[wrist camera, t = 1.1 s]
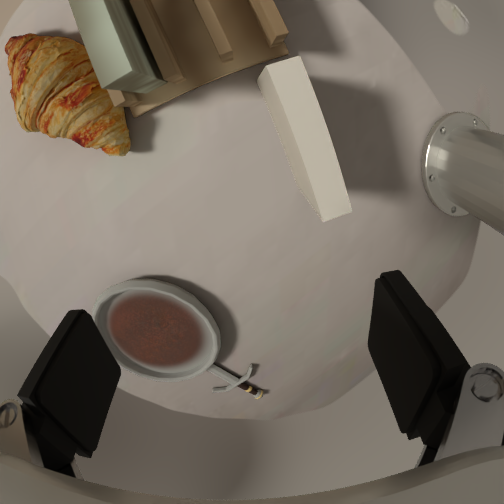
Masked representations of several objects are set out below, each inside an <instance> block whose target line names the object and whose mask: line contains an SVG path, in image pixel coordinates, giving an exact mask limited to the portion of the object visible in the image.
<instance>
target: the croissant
mask: <svg viewBox="0 0 504 504" xmlns="http://www.w3.org/2000/svg"><path fill="white" fill-rule="evenodd" d="M5 52H6V54H7V55H9V56H8V67H9V71H10V74H9V75H11V77H12V89H11V91H10V93H11V96H12V99H13V101H14V107H15V111H16V114H17V120H18V121H19V123H20V125H21V127H22V128H23V129H24V130H25V131H26V132H39V131H41V132H42V133H43V134H47V135H48V136H49V137H51V138H56V137H62V138H68V139H72V140H73V141H75V142H76V143H78V144H80V145H81V146H83V147H86V148H90V147H93V148H95V149H98V148H102V150H103V151H104V152H105V153H106V154H108V155H109V156H125V155H126V154H127V153H128V151H130V138H129V130H128V128H127V124H126V119H125V111H124V107H114V105H113V102H112V100H111V98H110V95H109V93H108V91H107V89H102V88H101V85H100V83H99V80H98V78H97V76H96V73H95V71H94V68H93V66H92V63H91V61H90V58H89V56H88V53H87V50H86V48H85V46H84V45H82V44H80V43H78V42H76V41H74V40H72V39H69V38H65V37H58V36H55V37H52V36H37V35H36V34H32V33H29V34H26V35H23V36H18V37H17V36H13V37H11V38H10V39H9V41H8V42H7V44H6V45H5Z"/></svg>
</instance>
